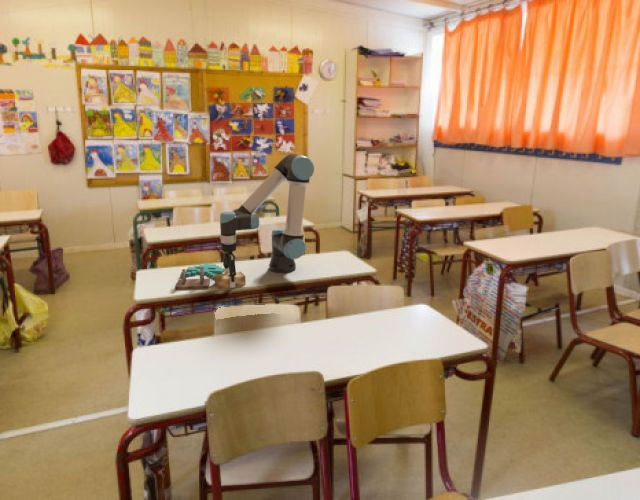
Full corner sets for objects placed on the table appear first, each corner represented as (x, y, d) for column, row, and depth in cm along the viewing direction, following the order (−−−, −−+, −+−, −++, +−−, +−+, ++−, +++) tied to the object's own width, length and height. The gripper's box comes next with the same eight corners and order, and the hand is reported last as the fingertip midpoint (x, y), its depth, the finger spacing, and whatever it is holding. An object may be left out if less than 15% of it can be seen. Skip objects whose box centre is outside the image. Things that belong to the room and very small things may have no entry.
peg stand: (210, 281, 254) (209, 266, 252) (208, 288, 244) (207, 273, 242) (178, 282, 252) (177, 267, 250) (175, 289, 242) (174, 274, 239)
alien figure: (216, 280, 257) (227, 268, 276) (216, 276, 257) (227, 264, 276) (180, 278, 259) (193, 267, 278) (180, 274, 258) (193, 263, 278)
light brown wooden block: (241, 280, 257) (240, 271, 256) (245, 285, 250) (245, 276, 249) (214, 284, 251) (214, 275, 250) (218, 289, 244) (218, 279, 243)
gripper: (216, 237, 253) (218, 277, 259) (226, 249, 233) (227, 292, 239) (230, 236, 256) (231, 275, 262) (241, 247, 235) (242, 290, 242)
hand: (230, 283), depth 250 cm, fingers open, 11 cm apart
